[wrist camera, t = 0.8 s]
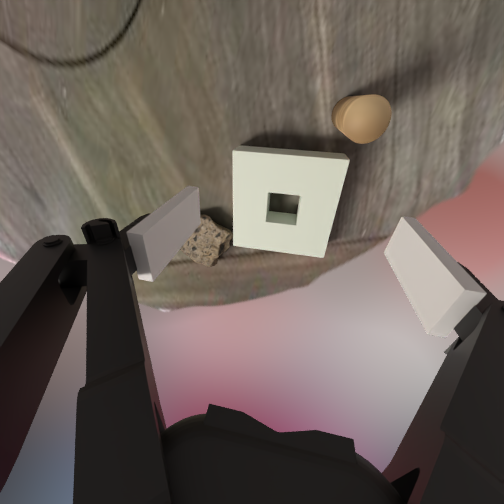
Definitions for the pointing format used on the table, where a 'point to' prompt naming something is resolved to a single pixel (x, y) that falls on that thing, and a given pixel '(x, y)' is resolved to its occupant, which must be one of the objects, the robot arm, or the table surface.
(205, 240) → the rock
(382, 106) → the dowel
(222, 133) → the table surface
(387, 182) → the table surface
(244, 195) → the socket block
